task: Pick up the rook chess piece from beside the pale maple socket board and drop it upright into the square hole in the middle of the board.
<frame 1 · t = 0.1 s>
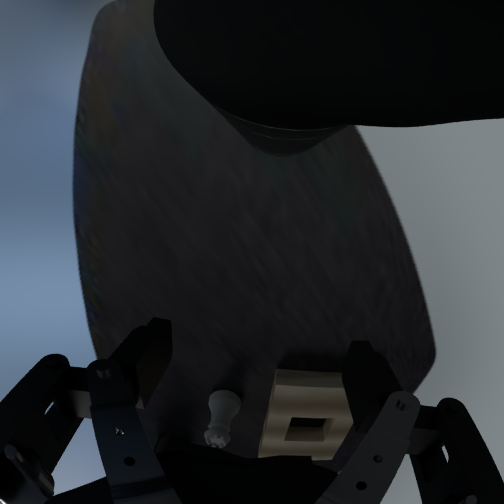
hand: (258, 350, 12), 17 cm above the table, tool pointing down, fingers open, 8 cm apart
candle: (173, 442, 40), on the table
socket board: (307, 415, 35), on the table
rook chess piece: (225, 397, 35), on the table
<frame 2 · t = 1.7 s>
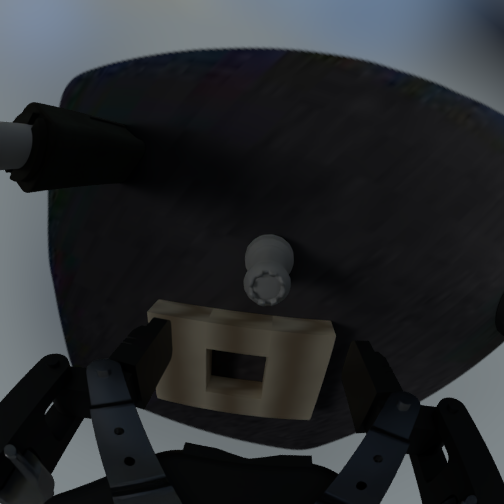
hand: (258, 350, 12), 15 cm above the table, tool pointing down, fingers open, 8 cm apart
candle: (120, 153, 25), on the table
socket board: (238, 359, 29), on the table
rook chess piece: (269, 256, 26), on the table
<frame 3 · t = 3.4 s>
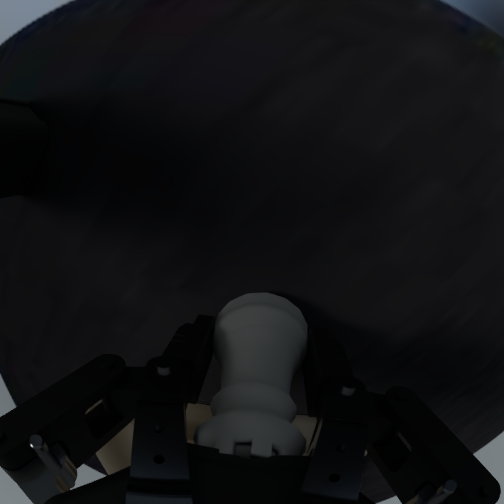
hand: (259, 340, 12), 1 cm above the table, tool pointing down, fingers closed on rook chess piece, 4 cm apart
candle: (22, 147, 12), on the table
socket board: (216, 455, 16), on the table
rook chess piece: (261, 328, 13), on the table, touching gripper
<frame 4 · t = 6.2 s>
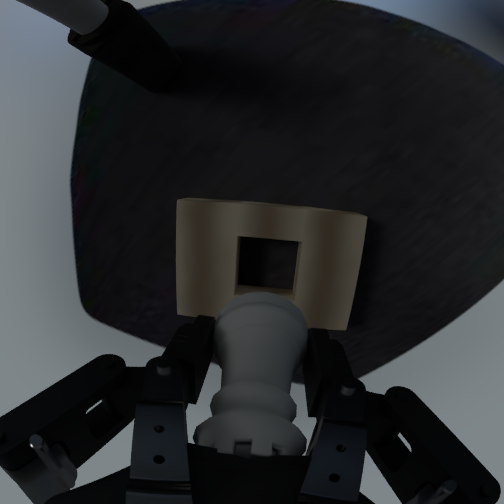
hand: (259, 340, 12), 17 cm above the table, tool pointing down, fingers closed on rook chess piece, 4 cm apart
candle: (157, 69, 25), on the table
socket board: (267, 260, 29), on the table
rook chess piece: (261, 327, 13), point 16 cm above the table, touching gripper
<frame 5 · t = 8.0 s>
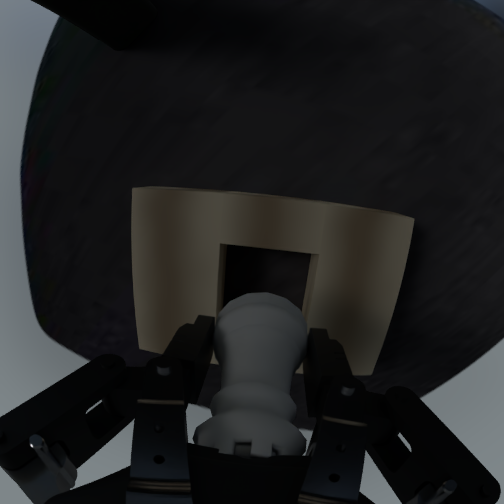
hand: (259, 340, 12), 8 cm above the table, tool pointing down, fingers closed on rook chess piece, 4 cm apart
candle: (126, 24, 16), on the table
socket board: (265, 278, 20), on the table
rook chess piece: (261, 328, 13), point 7 cm above the table, touching gripper
when the fingers open (4 cm above the table, at t = 9.3 s): rook chess piece drops 3 cm, resting in socket board.
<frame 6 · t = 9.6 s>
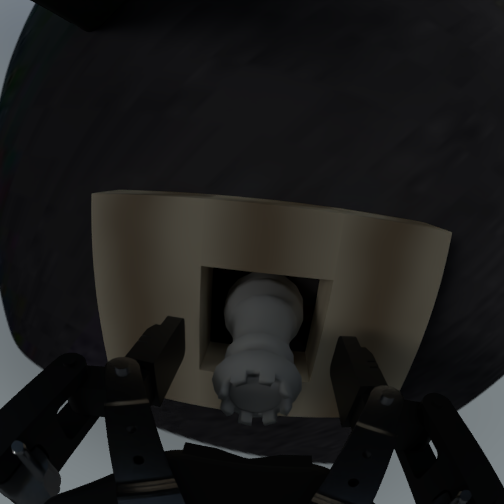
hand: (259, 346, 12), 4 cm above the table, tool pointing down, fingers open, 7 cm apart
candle: (101, 3, 11), on the table
socket board: (262, 305, 16), on the table
rook chess piece: (264, 303, 16), resting in socket board
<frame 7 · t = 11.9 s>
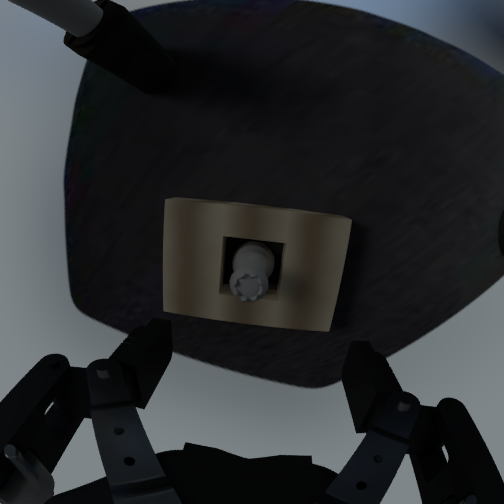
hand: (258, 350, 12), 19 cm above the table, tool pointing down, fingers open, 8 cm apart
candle: (151, 70, 25), on the table
socket board: (253, 261, 30), on the table
rook chess piece: (253, 260, 30), resting in socket board
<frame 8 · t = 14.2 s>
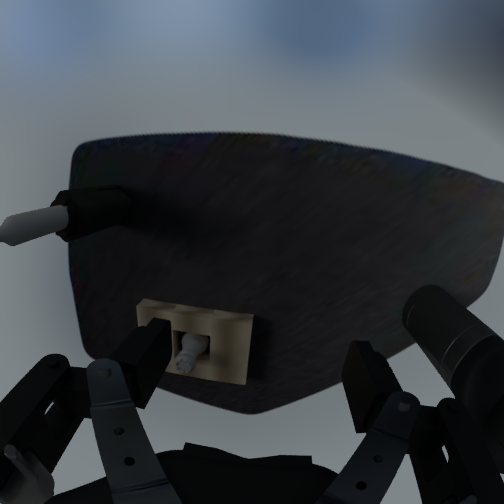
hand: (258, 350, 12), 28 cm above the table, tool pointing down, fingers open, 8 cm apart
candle: (116, 204, 40), on the table
socket board: (195, 338, 44), on the table
rook chess piece: (196, 338, 44), resting in socket board
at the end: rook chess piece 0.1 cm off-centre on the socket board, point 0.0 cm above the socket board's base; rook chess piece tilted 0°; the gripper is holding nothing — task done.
